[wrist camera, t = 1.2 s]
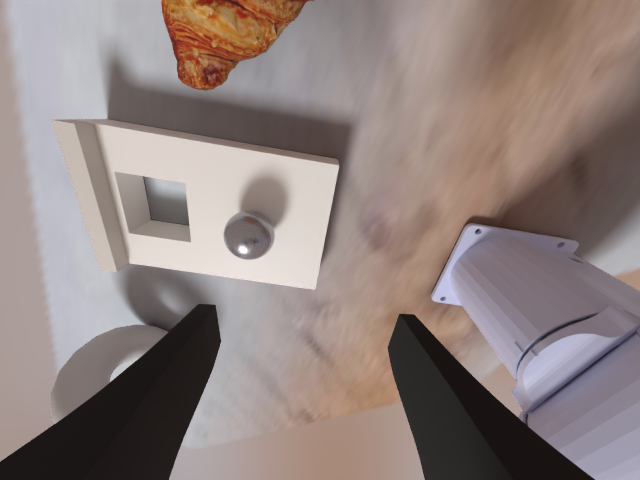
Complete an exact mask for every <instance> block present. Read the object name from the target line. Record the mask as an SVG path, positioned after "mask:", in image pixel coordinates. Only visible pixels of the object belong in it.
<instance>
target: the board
mask: <svg viewBox="0 0 640 480" xmlns="http://www.w3.org/2000/svg"><path fill="white" fill-rule="evenodd" d="M52 123H53V126H54V129H55V132H56V136H57V139H58V142H59V145H60V148H61V151H62V154H63V157H64V160H65V163H66V166H67V169H68V172H69V175H70V178H71V181H72V185H73V188H74V191H75V194H76V197H77V200H78V203H79V206H80V209H81V212H82V215H83V218H84V221H85V224H86V227H87V230H88V234H89V237H90V240H91V243H92V246H93V249H94V252H95V255H96V258H97V261H98V264H99V267H100V270H106V271H113V272H118V271H119V270H121V269H122V268H123V267H125V266H126V265H127V264H129V263H131V264H138V265H145V266H152V267H159V268H166V269H173V270H180V271H187V272H194V273H201V274H208V275H215V276H222V277H229V278H236V279H243V280H250V281H257V282H264V283H271V284H278V285H285V286H293V287H300V288H307V289H314V290H315V288H316V283H317V278H318V273H319V268H320V263H321V257H322V252H323V247H324V242H325V237H326V232H327V226H328V221H329V216H330V211H331V206H332V201H333V195H334V190H335V185H336V180H337V175H338V170H339V162H338V159H335V158H329V157H323V156H317V155H311V154H306V153H300V152H294V151H288V150H283V149H277V148H271V147H265V146H260V145H254V144H248V143H242V142H236V141H231V140H225V139H219V138H213V137H208V136H202V135H196V134H190V133H185V132H179V131H173V130H167V129H162V128H156V127H150V126H144V125H138V124H133V123H127V122H121V121H115V120H110V119H77V120H52ZM143 176H145V177H151V178H157V179H163V180H169V181H176V182H182V183H185V187H186V197H187V207H188V216H189V226H187V225H181V224H174V223H167V222H161V221H154V220H151V217H150V211H149V206H148V200H147V195H146V190H145V184H144V179H143ZM242 211H256V212H259V213H261V214H263V215H265V216H266V217H267V218H268V219H269V220H270V221H271V223H272V225H273V227H274V231H275V240H274V243H273V246H272V247H271V249H270V250H269V251H268V253H267V254H265V255H264V256H262V257H260V258H258V259H254V260H245V259H241V258H238V257H236V256H235V255H233V254H232V253H231V252H230V251H229V250H228V248H227V247H226V245H225V242H224V237H223V234H224V228H225V225H226V223H227V222H228V220H229V219H230V218H231V217H232V216H233V215H235V214H237V213H239V212H242Z"/></svg>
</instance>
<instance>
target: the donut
mask: <svg viewBox="0 0 640 480" xmlns="http://www.w3.org/2000/svg"><path fill="white" fill-rule="evenodd" d="M167 333H168V331H166V330H163V329H161V328H158V327H155V326H147V325H131V326H125V327H119V328H115V329H113V330H110V331H108V332H105V333H103V334H101V335H98V336H96V337H95V338H93V339H92V340H91V341H89V342H88V343H87V344H85V345H84V346H83V347H81V348H80V349H78V350H77V351H76V352H75V353H74V354H73V355H72V357H71V358H70V359H69V360H68V361H67V363H66V364H65V365H64V366H63V368H62V369H61V370H60V372H59V374H58V377H57V379H56V382H55V385H54V387H53V390H52V392H51V418H52V420H53V421H54V423H55V424H56V423H57V422H58V421H60V420H61V419H63V418H64V417H65V416H67V415H68V414H69V413H71V412H72V411H73V410H75V409H76V408H77V407H79V406H80V405H82V404H83V403H84V402H86V401H87V400H88V399H89V398H91V397H92V396H93V395H95V394H96V393H97V392H99V391H100V390H101V389H102V388H104V387H105V386H106V385H107V384H109V383H110V377H111V374H112V373H113V371H114V370H115V369H116V368H117V367H118V366H119V365H121V364H123V363H126V362H130V361H137V360H138V359H139V358H140V357H141V356H142V355H144V354H145V353H146V352H147V351H148V350H149V349H150V348H151V347H153V346H154V345H155V344H156V343H157V342H158V341H159V340H160V339H162V338H163V337H164V336H165V335H166V334H167Z"/></svg>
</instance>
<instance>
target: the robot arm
mask: <svg viewBox="0 0 640 480" xmlns="http://www.w3.org/2000/svg"><path fill="white" fill-rule="evenodd" d="M477 229H479V230H478V232H475V231H476V230H477ZM578 246H579V243H578V242H577V241H575V240H572V239H566V238H560V237H554V236H548V235H542V234H536V233H530V232H524V231H517V230H511V229H505V228H499V227H493V226H487V225H481V224H475V223H470V224H467V225H466V226H465V227H464V229H463V231H462V233H461V235H460V237H459V239H458V241H457V243H456V245H455V247H454V250H453V252H452V254H451V256H450V258H449V260H448V262H447V264H446V266H445V268H444V270H443V272H442V274H441V276H440V278H439V280H438V282H437V284H436V286H435V288H434V290H433V292H432V294H431V298H432V300H433V301H435V302H441V303H448V304H455V305H461V306H463V307H464V309H465V310H466V312H467V313H468V314H469V316H470V317H471V319H472V320H473V321H474V323H475V324H476V325H477V327H478V328H479V330H480V331H481V332H482V334H483V335H484V337H485V338H486V339H487V341H488V342H489V344H490V345H491V346H492V348H493V349H494V351H495V352H496V353H497V355H498V356H499V358H500V359H501V360H502V362H503V363H504V364H505V366H506V367H507V369H508V370H509V372H510V373H511V374H512V376H513V377H514V378H515V380H516V381H517V383H516V386H515V387H514V388H513V389H512V390H511V393H512V395H513V396H514V398H515V399H516V401H517V402H518V404H519V405H520V407H521V408H522V410H523V411H522V412H521V413H520V415H519V417H517V416H515V415H514V414H513V413H512V412H511V411H510V410H509V409H507V408H506V407H505V406H504V405H503V404H502V403H501V402H500V401H499V400H497V399H496V398H495V397H494V396H493V395H492V394H491V393H490V392H489V391H488V390H487V389H486V388H485V387H484V386H483V385H481V384H480V383H479V382H478V381H477V380H476V379H475V378H474V377H473V376H472V375H471V374H470V373H469V372H468V371H467V370H466V369H465V368H464V367H463V366H462V365H461V364H460V363H459V362H458V361H457V360H456V359H455V358H454V357H453V356H452V355H451V353H450V352H449V351H448V350H447V349H446V348H445V347H444V346H443V345H442V344H441V343H440V342H439V341H438V340H437V339H436V337H435V336H434V335H433V334H432V333H431V332H430V331H429V330H428V329H427V328H426V327H425V326H424V324H423V323H422V322H421V321H420V320H419V319H418V318H417V317H416V316H415V315H412V314H399V316H398V319H397V322H396V325H395V328H394V331H393V334H392V337H391V340H390V343H389V345H388V352H389V357H390V362H391V367H392V371H393V375H394V379H395V382H396V385H397V388H398V391H399V394H400V397H401V400H402V403H403V407H404V409H405V413H406V416H407V418H408V422H409V425H410V428H411V431H412V434H413V437H414V440H415V443H416V446H417V450H418V454H419V457H420V460H421V465H422V469H423V474H424V478H425V480H640V291H638V290H637V289H635V288H633V287H631V286H630V285H627V284H626V283H624V282H622V281H621V280H619V279H617V278H615V277H613V276H612V275H610V274H608V273H606V272H604V271H603V270H601V269H599V268H597V267H596V266H594V265H592V264H590V263H588V262H587V261H585V260H583V259H581V258H579V257H578V256H576V255H574V254H573V253H574V252H575V250H576V249H577V248H578ZM441 297H443V298H441ZM220 343H221V338H220V331H219V325H218V318H217V312H216V305H208V304H199V305H197V306H196V307H195V308H194V309H193V310H192V311H191V312H190V313H189V314H187V315H186V316H185V317H184V318H183V319H182V320H181V321H180V322H179V323H178V324H177V325H176V326H175V327H174V328H172V329H171V330H170V331H169V332H168V333H167V334H166V335H165V336H164V337H163V338H162V339H160V340H159V341H158V342H157V343H156V344H155V345H154V346H153V347H151V348H150V349H149V350H148V351H147V352H146V353H145V354H144V355H142V356H141V357H140V358H139V359H138V360H137V361H135V362H134V363H133V364H132V365H131V366H129V367H128V368H127V369H126V370H125V371H123V372H122V373H121V374H120V375H119V376H117V377H116V378H115V379H114V380H112V381H111V382H110V383H109V384H107V385H106V386H105V387H104V388H102V389H101V390H100V391H99V392H97V393H96V394H95V395H93V396H92V397H91V398H89V399H88V400H87V401H86V402H84V403H83V404H82V405H80V406H79V407H77V408H76V409H75V410H73V411H72V412H71V413H69V414H68V415H67V416H65V417H64V418H63V419H61V420H60V421H58V422H57V423H56V424H54V425H53V426H51V427H50V428H48V429H47V430H46V431H44V432H43V433H41V434H40V435H38V436H37V437H36V438H34V439H33V440H31V441H30V442H28V443H27V444H25V445H24V446H22V447H21V448H20V449H18V450H17V451H15V452H14V453H12V454H11V455H9V456H8V457H7V458H5V459H4V460H2V461H1V462H0V480H169V477H170V474H171V471H172V468H173V465H174V462H175V459H176V456H177V454H178V451H179V449H180V446H181V443H182V441H183V438H184V436H185V433H186V431H187V429H188V426H189V424H190V422H191V419H192V417H193V415H194V412H195V410H196V408H197V405H198V403H199V401H200V398H201V396H202V394H203V391H204V389H205V386H206V384H207V382H208V379H209V377H210V374H211V372H212V370H213V367H214V363H215V360H216V357H217V354H218V350H219V347H220Z"/></svg>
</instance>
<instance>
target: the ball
mask: <svg viewBox="0 0 640 480" xmlns="http://www.w3.org/2000/svg"><path fill="white" fill-rule="evenodd" d="M223 237H224V242H225V245H226V247H227V248H228V250H229V251H230V252H231V253H232V254H233V255H235V256H236V257H238V258H241V259H245V260H254V259H258V258H260V257H262V256H264V255H265V254H267V253H268V251H269V250H270V249H271V247H272V246H273V243H274V240H275V231H274V227H273V225H272V223H271V221H270V220H269V219H268V218H267V217H266V216H265V215H263V214H261V213H259V212H256V211H242V212H239V213H237V214H235V215H233V216H232V217H231V218H230V219H229V220H228V222H227V223H226V225H225V228H224V234H223Z"/></svg>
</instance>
